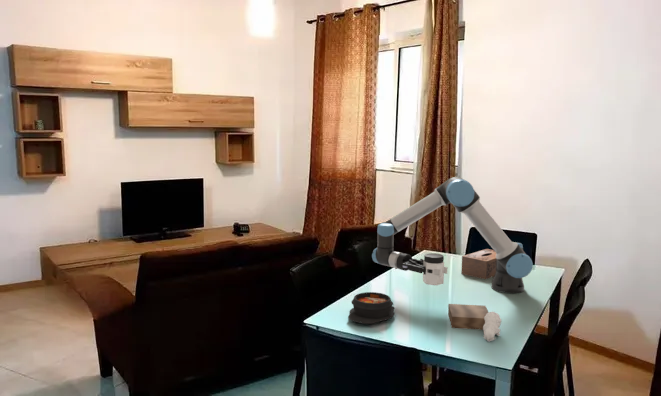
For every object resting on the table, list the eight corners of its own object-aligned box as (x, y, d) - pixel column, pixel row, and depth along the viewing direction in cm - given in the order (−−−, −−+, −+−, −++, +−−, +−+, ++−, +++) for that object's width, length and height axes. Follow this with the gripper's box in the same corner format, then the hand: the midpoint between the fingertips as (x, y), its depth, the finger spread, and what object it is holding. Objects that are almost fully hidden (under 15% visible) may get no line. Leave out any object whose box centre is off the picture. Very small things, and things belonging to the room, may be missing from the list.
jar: (433, 286, 214) (434, 258, 213) (419, 282, 221) (419, 255, 219) (447, 283, 219) (448, 255, 218) (433, 278, 226) (433, 252, 224)
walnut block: (484, 317, 212) (485, 305, 211) (491, 331, 197) (491, 318, 197) (448, 315, 214) (448, 303, 213) (451, 328, 199) (452, 316, 199)
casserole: (365, 304, 226) (365, 286, 225) (404, 312, 216) (405, 293, 215) (337, 322, 204) (337, 302, 203) (379, 331, 195) (379, 310, 194)
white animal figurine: (502, 311, 193) (498, 324, 182) (501, 331, 195) (497, 346, 184) (485, 308, 196) (480, 322, 185) (484, 329, 198) (479, 343, 187)
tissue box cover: (485, 265, 293) (486, 248, 291) (509, 270, 282) (510, 253, 281) (461, 274, 275) (462, 256, 274) (485, 280, 265) (486, 261, 263)
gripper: (412, 265, 239) (455, 276, 221) (388, 272, 227) (430, 284, 210) (413, 250, 238) (455, 259, 220) (388, 256, 226) (431, 266, 209)
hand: (443, 271), depth 215 cm, fingers closed on jar, 4 cm apart
